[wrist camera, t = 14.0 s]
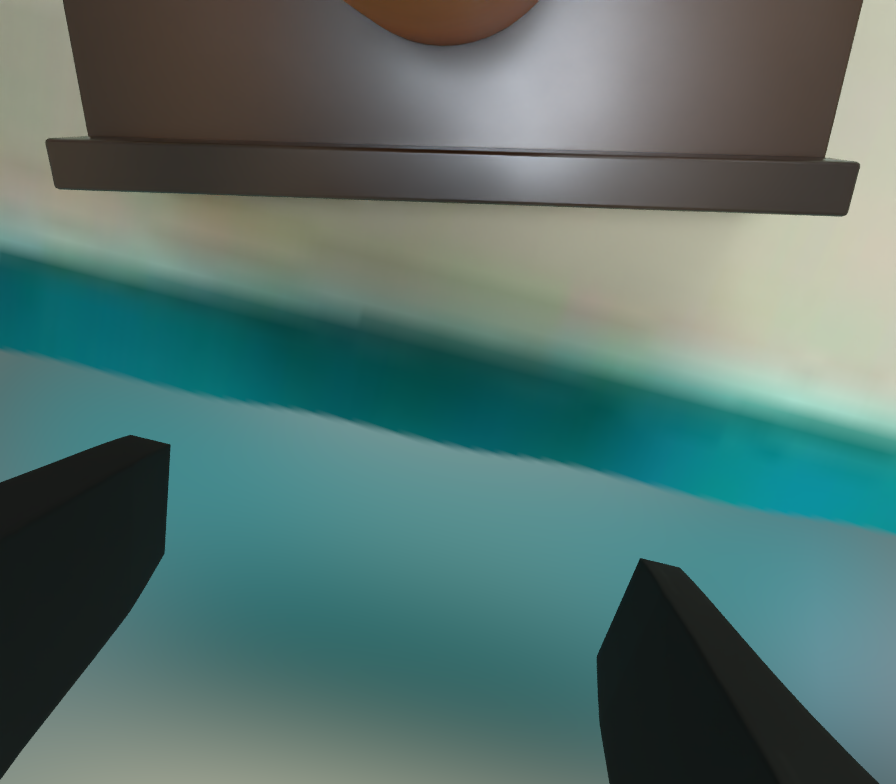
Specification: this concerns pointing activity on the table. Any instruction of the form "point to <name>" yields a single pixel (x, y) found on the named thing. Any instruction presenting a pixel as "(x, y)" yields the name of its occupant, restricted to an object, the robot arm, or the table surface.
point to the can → (443, 18)
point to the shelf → (466, 105)
